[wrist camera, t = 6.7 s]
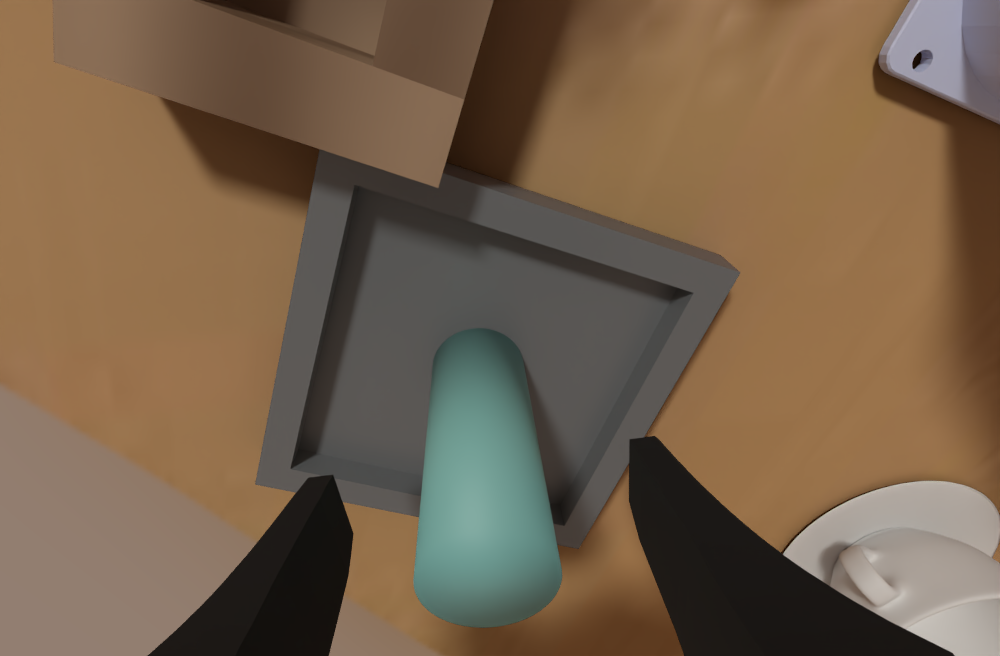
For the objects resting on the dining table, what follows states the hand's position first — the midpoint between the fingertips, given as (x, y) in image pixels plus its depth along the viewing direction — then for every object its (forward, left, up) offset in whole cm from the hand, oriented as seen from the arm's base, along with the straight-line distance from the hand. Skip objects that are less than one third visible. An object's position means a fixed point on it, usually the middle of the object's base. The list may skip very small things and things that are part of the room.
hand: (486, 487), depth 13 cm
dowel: (0, 0, -5) cm, 5 cm away
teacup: (-20, +5, -6) cm, 22 cm away
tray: (0, 0, -6) cm, 6 cm away
